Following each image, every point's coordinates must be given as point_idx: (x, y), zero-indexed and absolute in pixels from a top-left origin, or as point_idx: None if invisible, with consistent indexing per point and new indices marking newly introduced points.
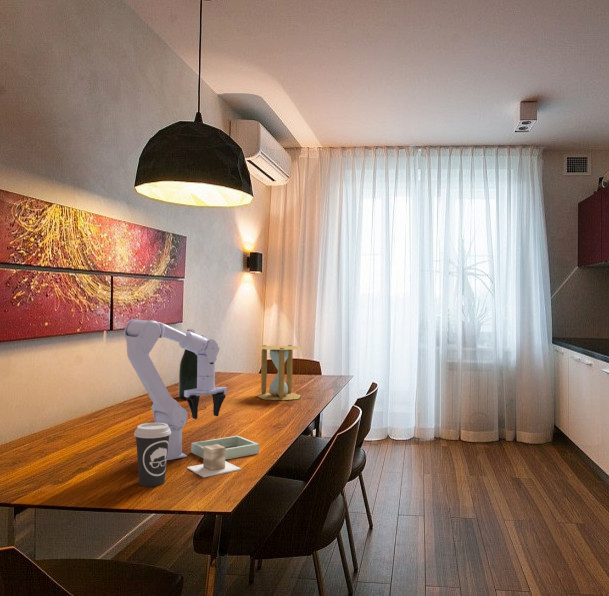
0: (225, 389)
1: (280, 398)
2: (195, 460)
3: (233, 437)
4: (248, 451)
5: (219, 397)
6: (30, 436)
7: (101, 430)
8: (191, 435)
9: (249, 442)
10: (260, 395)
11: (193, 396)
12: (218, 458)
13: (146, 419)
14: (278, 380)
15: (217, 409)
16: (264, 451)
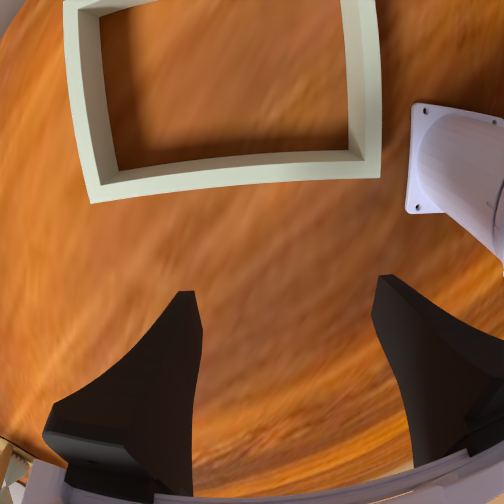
0: (37, 501)
1: (10, 445)
2: (398, 42)
3: (120, 181)
4: None
5: (136, 425)
6: None
7: (395, 438)
8: (240, 375)
9: (82, 55)
10: None
11: (497, 428)
12: None
13: (276, 474)
14: (5, 472)
15: (179, 326)
16: (52, 35)
